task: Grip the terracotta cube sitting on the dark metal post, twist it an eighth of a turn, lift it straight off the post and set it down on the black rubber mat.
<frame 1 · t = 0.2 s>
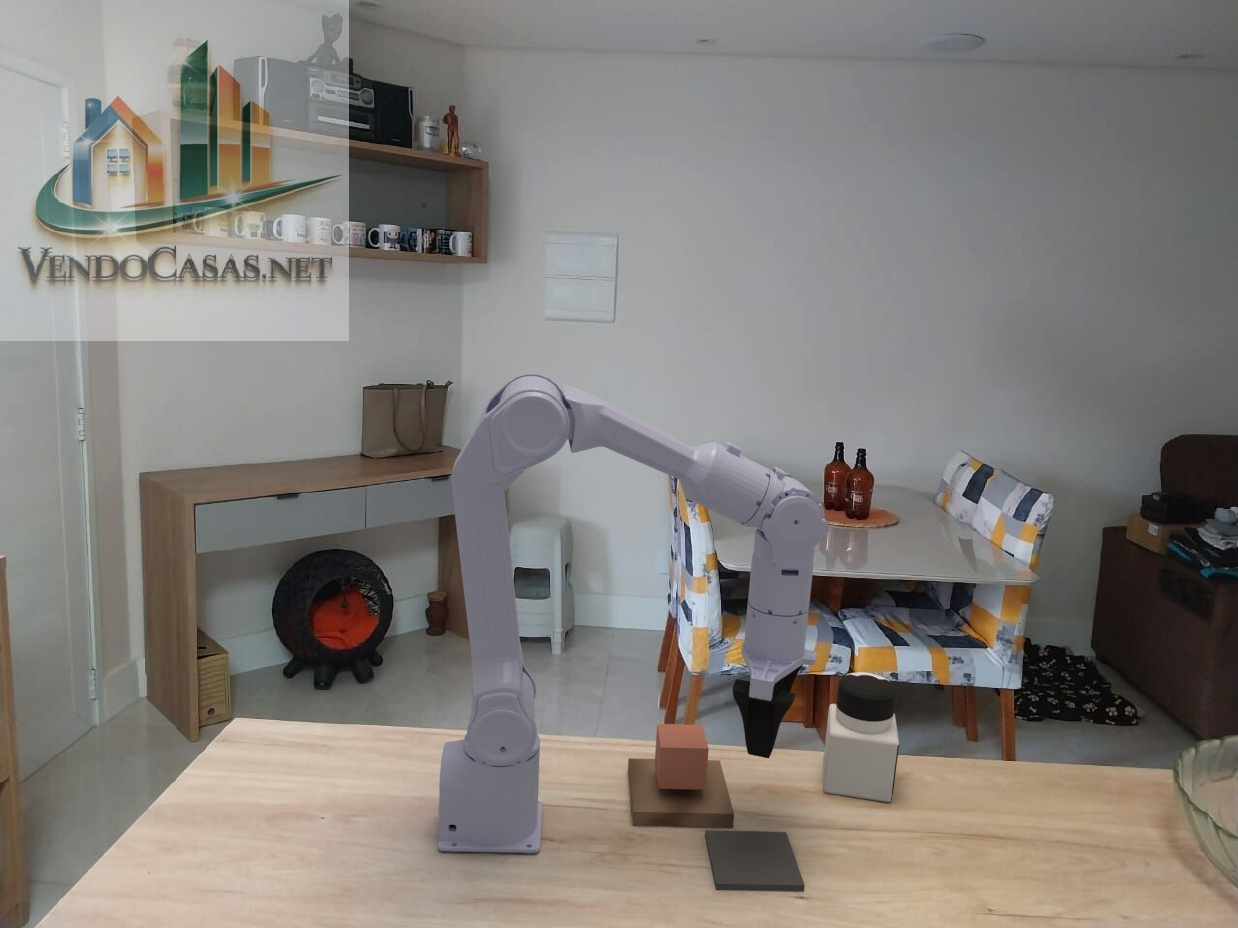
hand: (765, 735, 95), 10 cm above the table, tool pointing down, fingers open, 7 cm apart
terracotta cube: (679, 776, 101), point 2 cm above the table, touching post block
post block: (677, 797, 101), on the table
medicine bottle: (856, 782, 106), on the table
mat: (752, 862, 91), on the table
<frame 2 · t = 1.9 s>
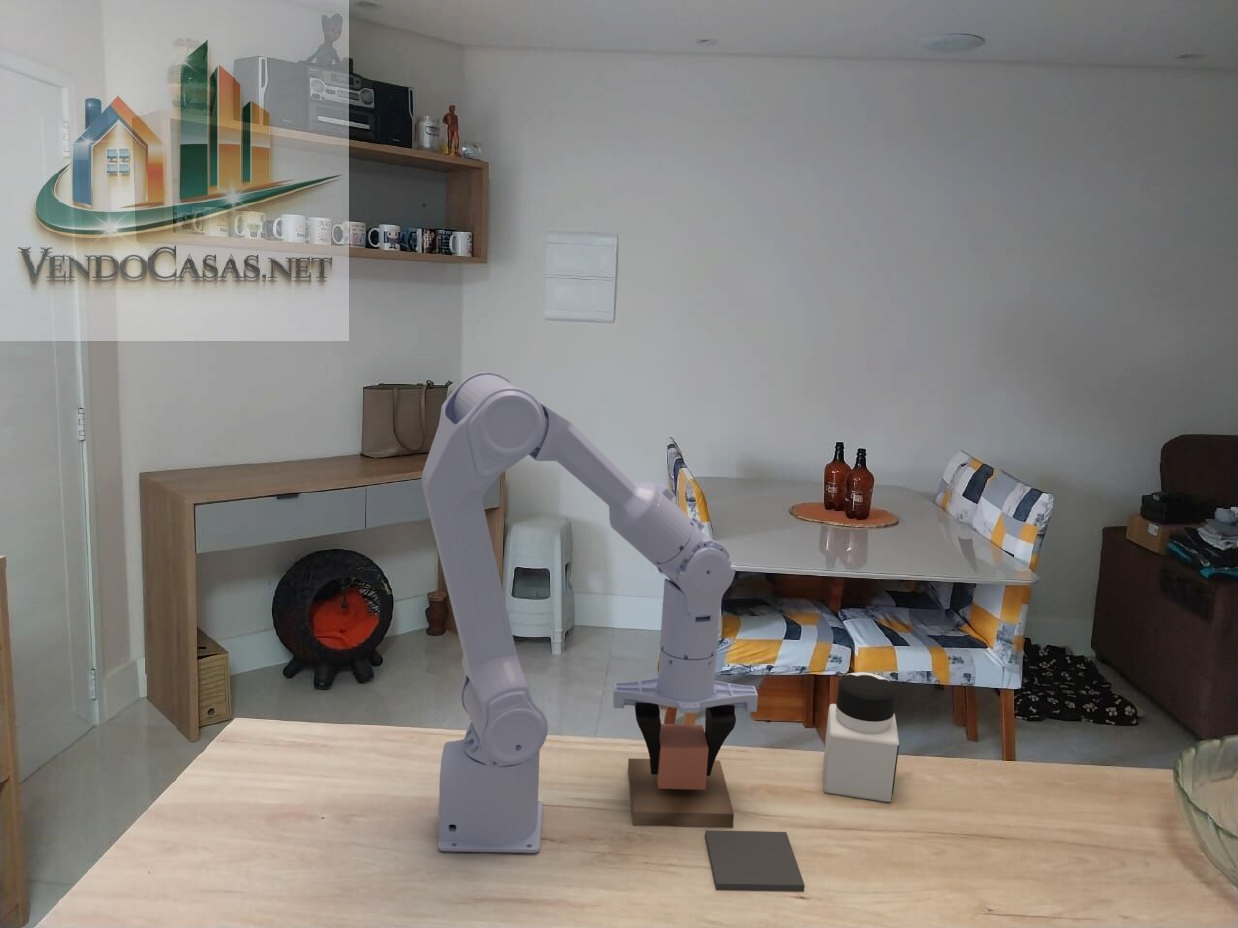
hand: (679, 769, 100), 3 cm above the table, tool pointing down, fingers closed on terracotta cube, 5 cm apart
terracotta cube: (679, 776, 101), point 2 cm above the table, touching gripper, post block
everything else where it was.
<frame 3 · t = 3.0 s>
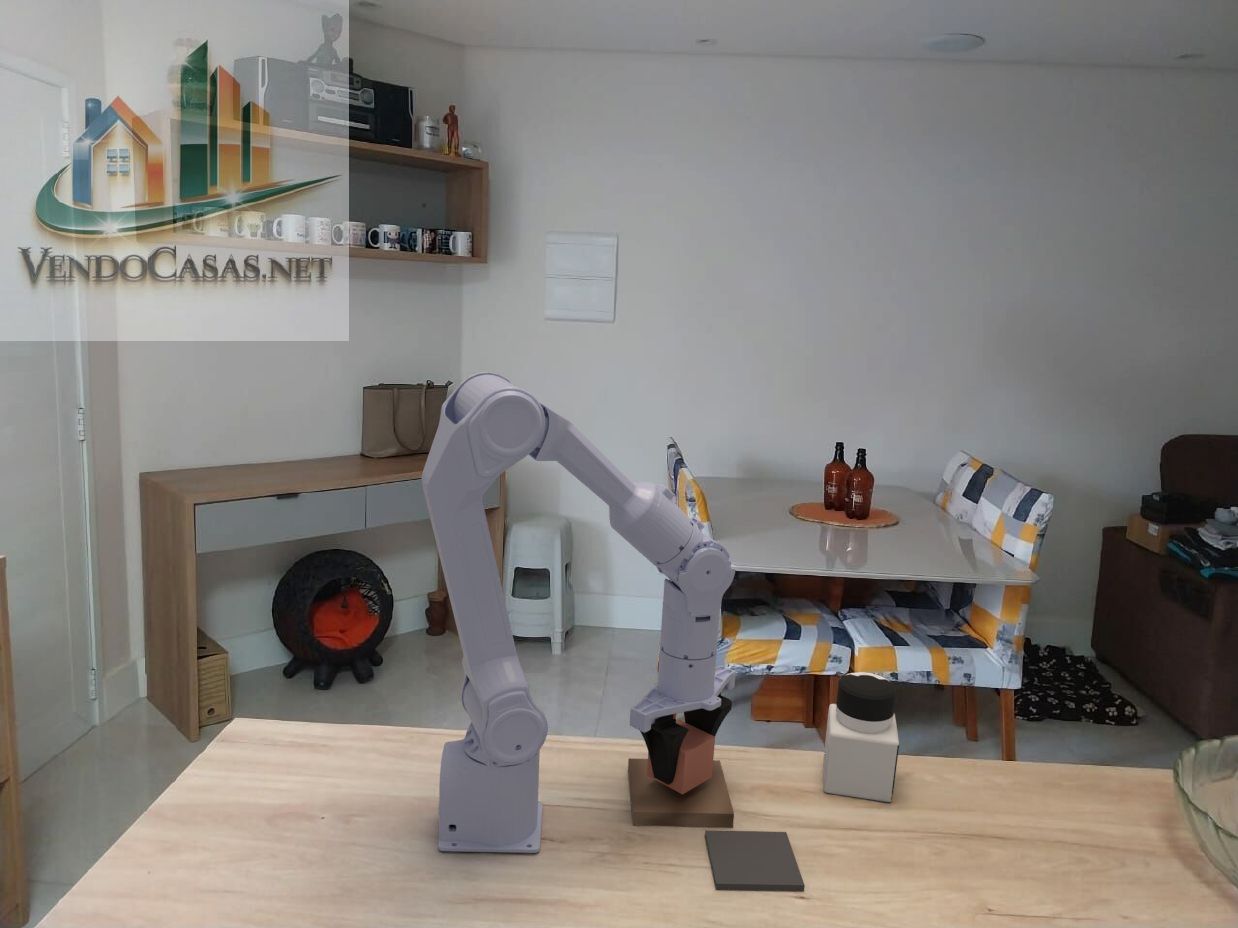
hand: (679, 769, 100), 3 cm above the table, tool pointing down, fingers closed on terracotta cube, 5 cm apart
terracotta cube: (679, 775, 101), point 3 cm above the table, touching gripper
everything else where it was.
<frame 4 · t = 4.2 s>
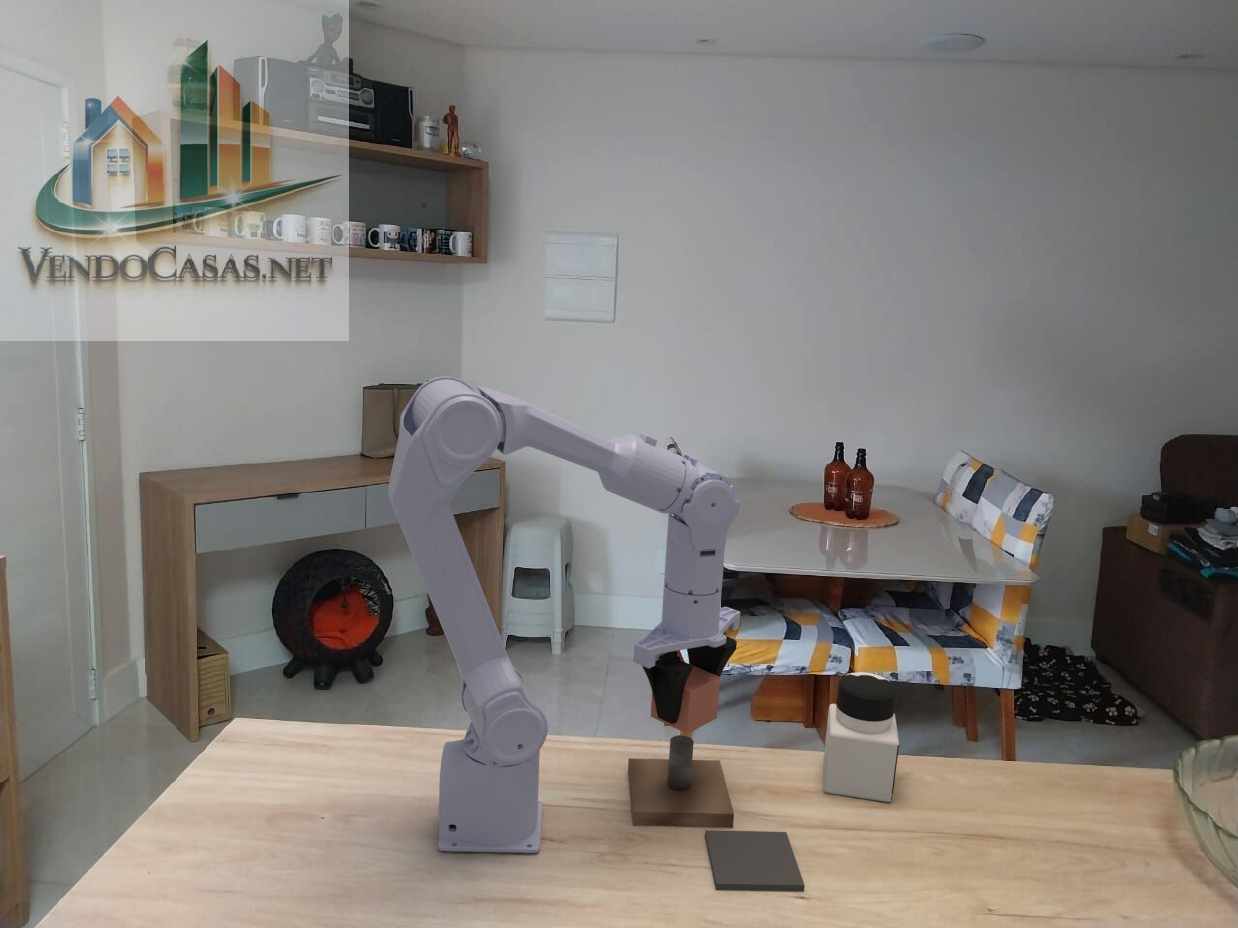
hand: (684, 710, 99), 10 cm above the table, tool pointing down, fingers closed on terracotta cube, 5 cm apart
terracotta cube: (683, 717, 99), point 9 cm above the table, touching gripper
everything else where it was.
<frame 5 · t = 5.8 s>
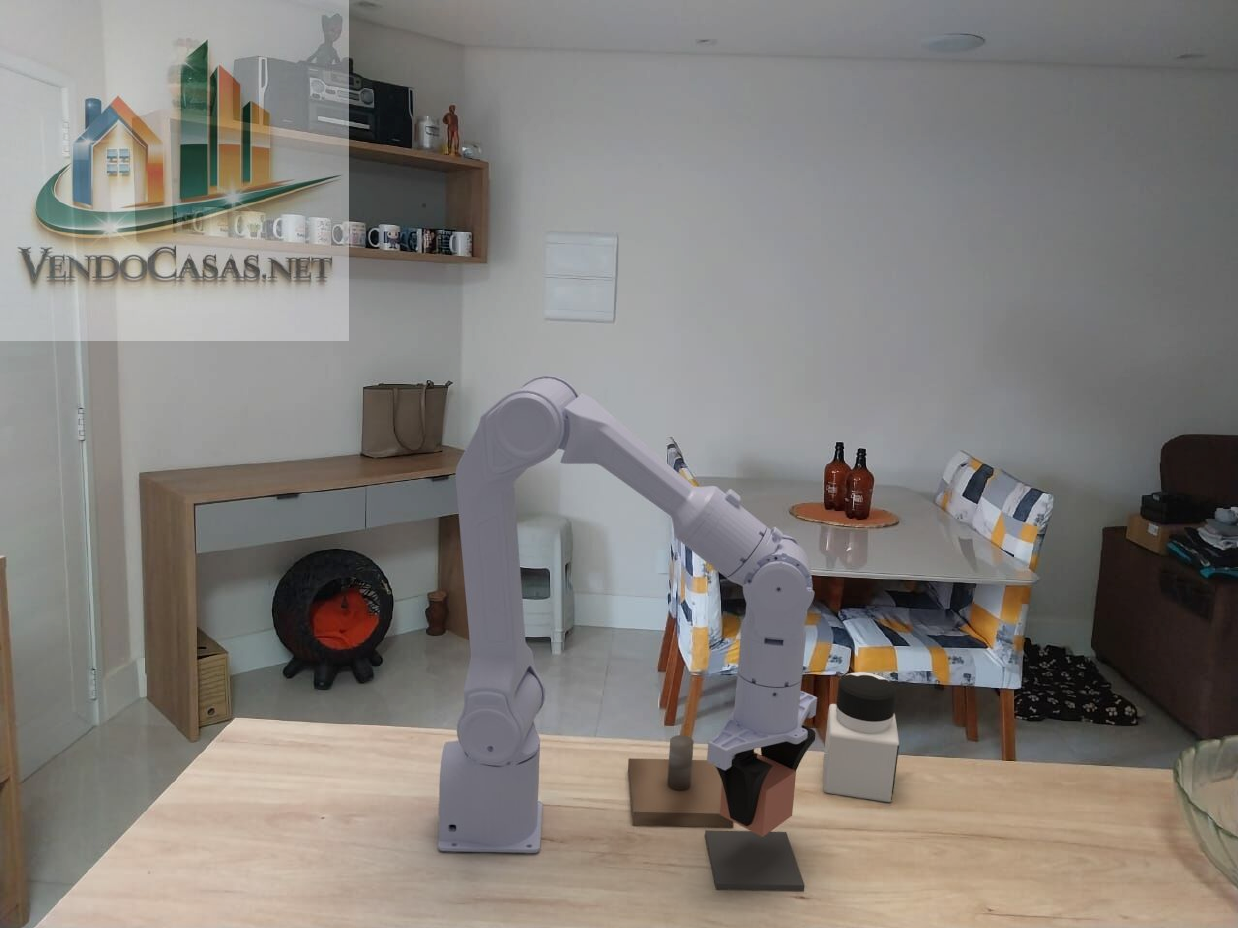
hand: (757, 808, 90), 6 cm above the table, tool pointing down, fingers closed on terracotta cube, 5 cm apart
terracotta cube: (756, 815, 90), point 5 cm above the table, touching gripper
everything else where it was.
when the fingers open (3 cm above the table, at t = 6.8 s): terracotta cube drops 1 cm, resting on mat.
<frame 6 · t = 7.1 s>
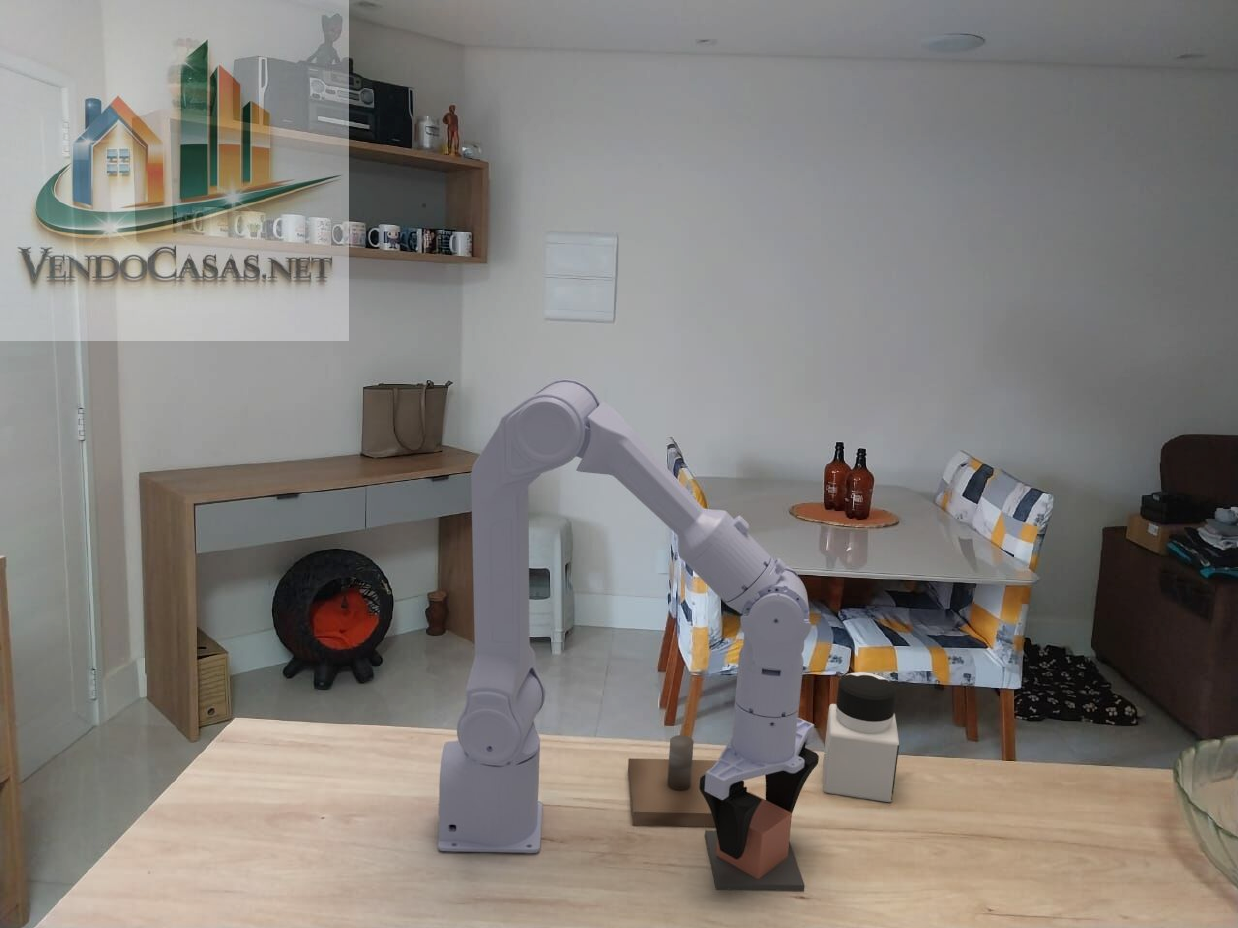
hand: (754, 835, 91), 3 cm above the table, tool pointing down, fingers open, 7 cm apart
terracotta cube: (751, 855, 91), point 1 cm above the table, touching mat
everything else where it was.
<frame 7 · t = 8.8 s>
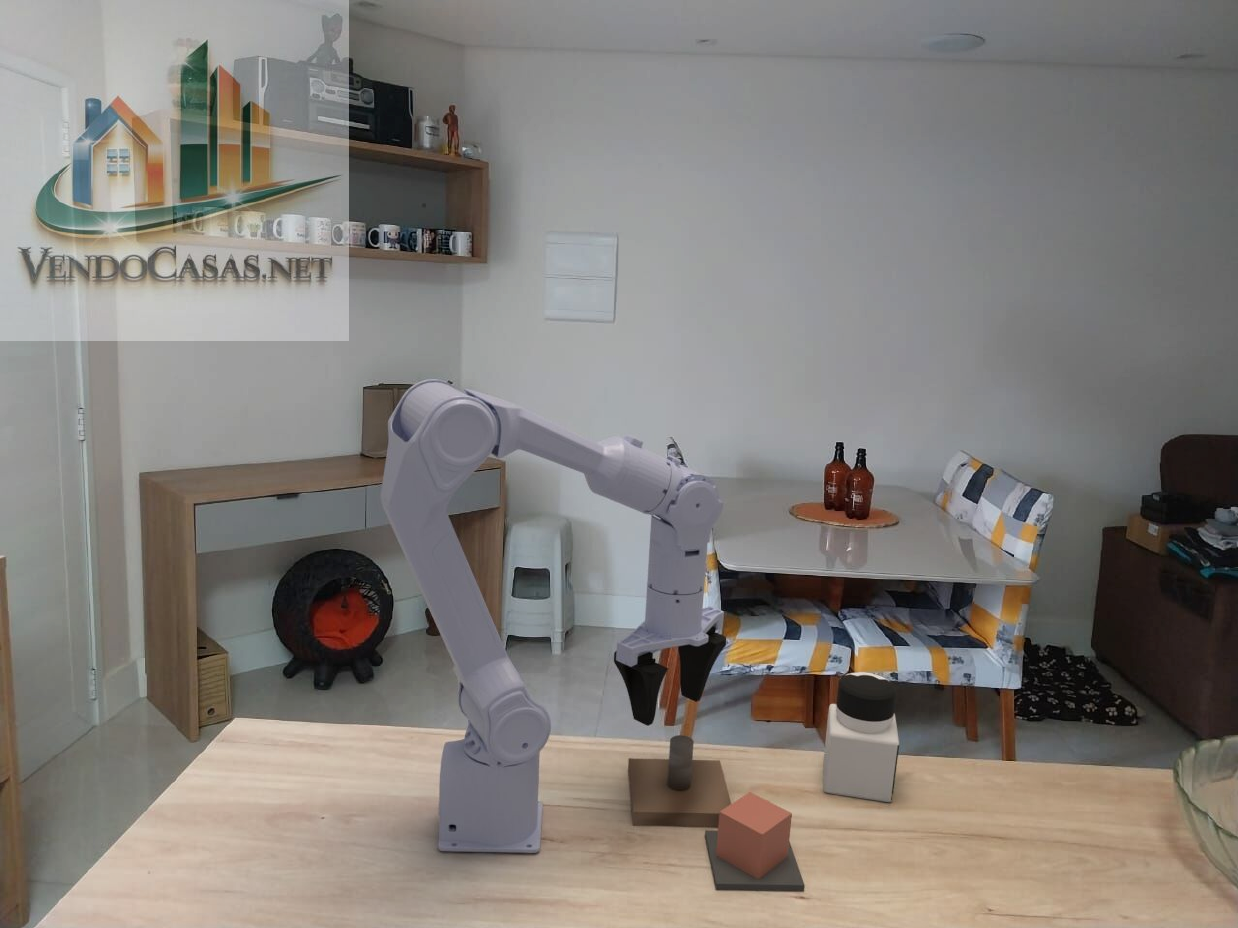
hand: (667, 709, 100), 9 cm above the table, tool pointing down, fingers open, 7 cm apart
nothing on the table moved.
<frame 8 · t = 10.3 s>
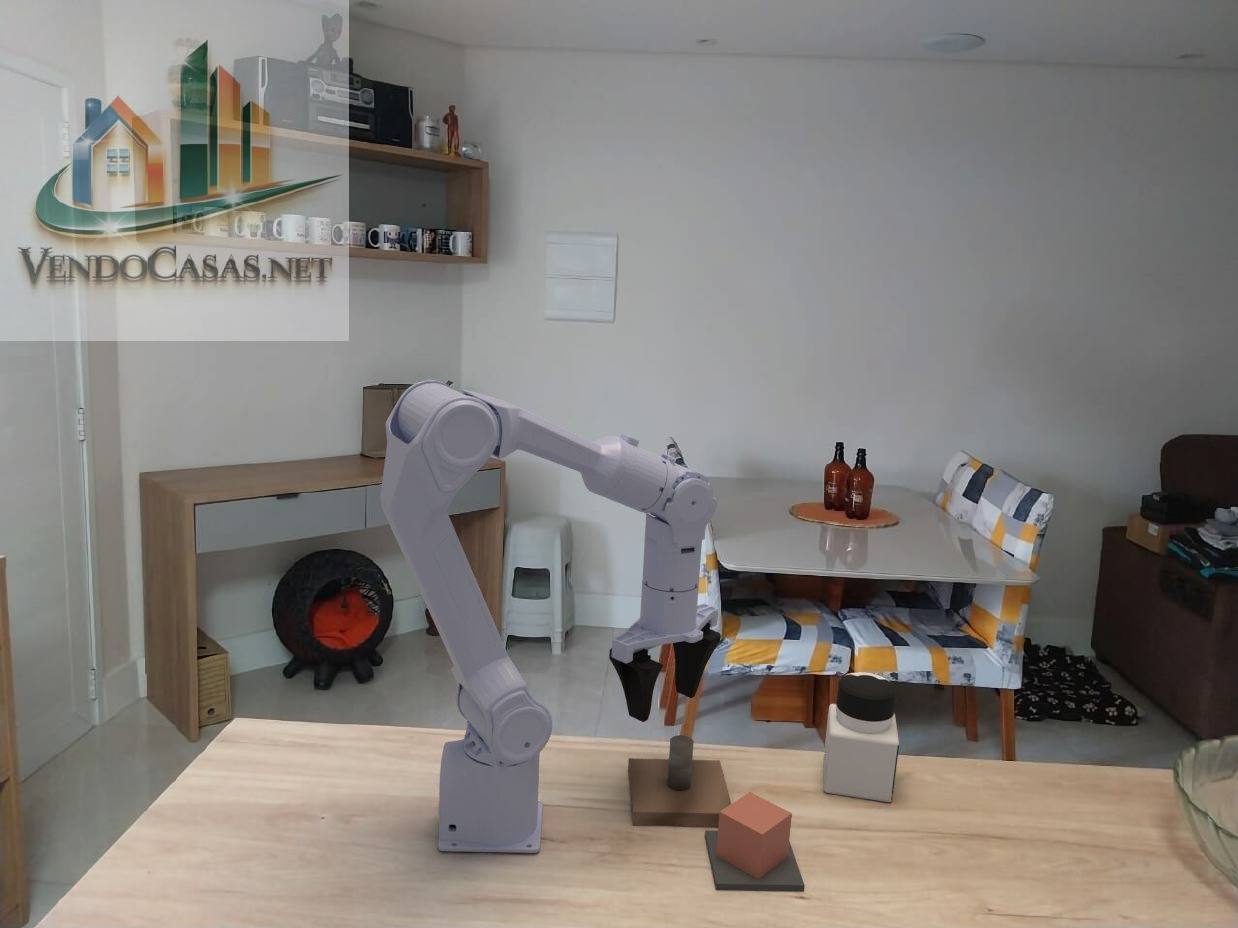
hand: (662, 705, 101), 9 cm above the table, tool pointing down, fingers open, 7 cm apart
nothing on the table moved.
at the end: terracotta cube 0.1 cm off-centre on the mat, point 0.6 cm above the mat's base; terracotta cube tilted 0°; the gripper is holding nothing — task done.
